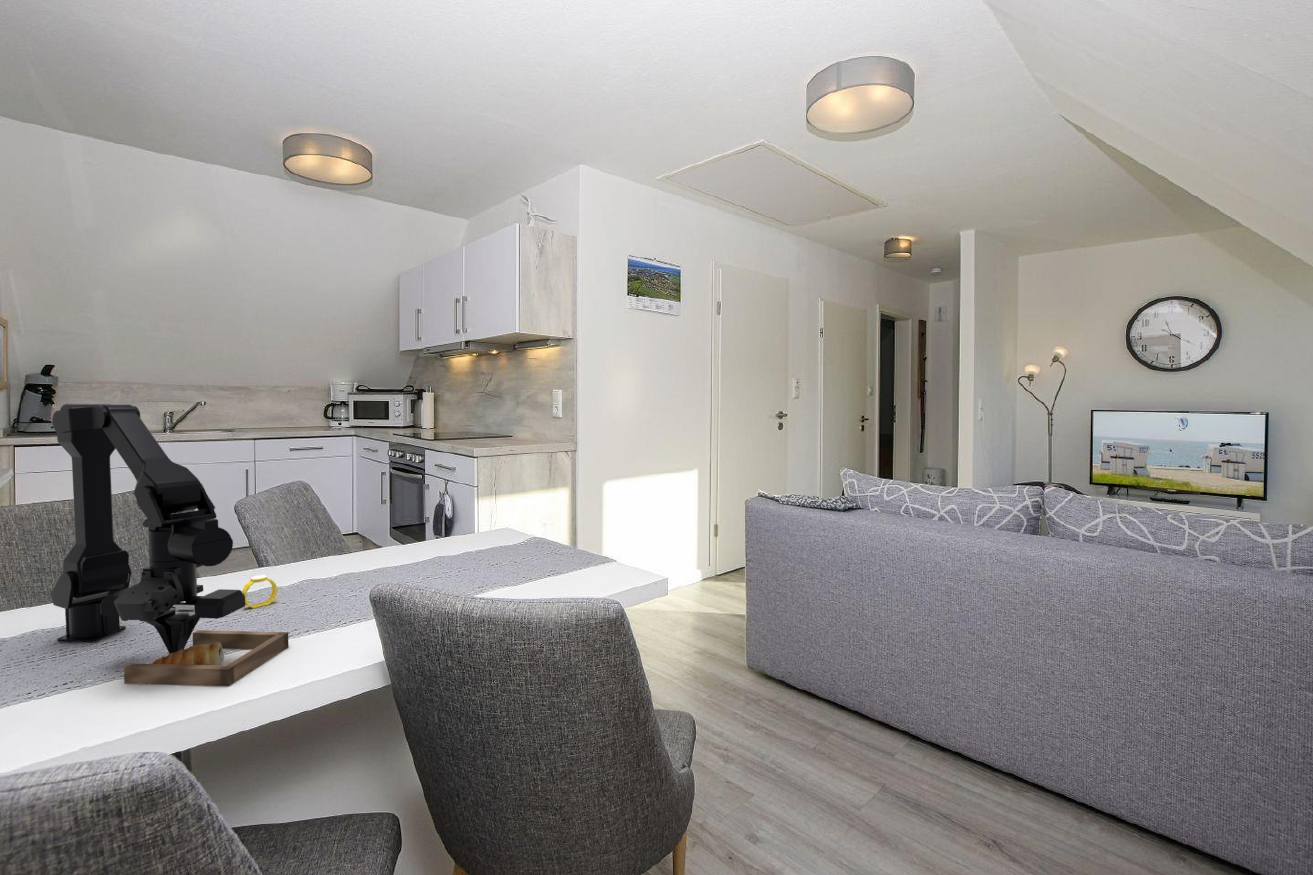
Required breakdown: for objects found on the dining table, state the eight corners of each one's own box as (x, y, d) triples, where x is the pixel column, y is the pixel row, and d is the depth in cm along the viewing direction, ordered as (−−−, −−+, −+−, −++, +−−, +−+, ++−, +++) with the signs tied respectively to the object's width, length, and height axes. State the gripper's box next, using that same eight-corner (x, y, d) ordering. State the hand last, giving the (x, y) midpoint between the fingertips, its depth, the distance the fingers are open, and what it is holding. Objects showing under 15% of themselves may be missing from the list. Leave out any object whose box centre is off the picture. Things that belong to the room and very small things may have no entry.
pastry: (143, 687, 91) (142, 661, 90) (151, 670, 96) (150, 645, 96) (222, 673, 95) (221, 648, 95) (225, 658, 101) (224, 634, 101)
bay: (124, 683, 91) (123, 666, 91) (198, 644, 106) (197, 630, 105) (228, 686, 91) (228, 669, 91) (288, 646, 105) (288, 632, 105)
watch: (247, 612, 122) (244, 583, 122) (241, 609, 124) (237, 580, 123) (280, 602, 127) (277, 573, 126) (273, 599, 129) (270, 571, 128)
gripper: (63, 570, 89) (68, 677, 90) (194, 573, 89) (197, 681, 90) (130, 551, 101) (133, 646, 102) (246, 553, 100) (248, 649, 101)
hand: (176, 656), depth 98 cm, fingers closed
